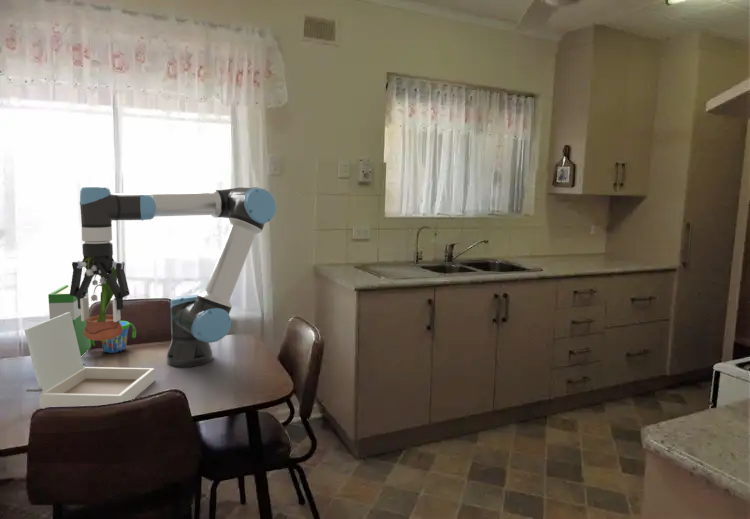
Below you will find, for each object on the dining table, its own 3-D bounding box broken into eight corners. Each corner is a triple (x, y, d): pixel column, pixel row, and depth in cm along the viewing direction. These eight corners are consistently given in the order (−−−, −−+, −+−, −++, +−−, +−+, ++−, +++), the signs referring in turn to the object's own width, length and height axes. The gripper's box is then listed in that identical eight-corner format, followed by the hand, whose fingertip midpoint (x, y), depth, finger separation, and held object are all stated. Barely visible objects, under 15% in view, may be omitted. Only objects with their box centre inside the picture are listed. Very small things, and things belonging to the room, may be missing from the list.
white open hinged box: (154, 380, 162) (152, 312, 160) (121, 410, 141) (117, 332, 138) (73, 378, 162) (69, 311, 159) (27, 408, 141) (21, 330, 138)
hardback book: (69, 348, 193) (65, 284, 189) (91, 347, 194) (87, 284, 191) (52, 363, 176) (48, 294, 172) (76, 362, 178) (72, 293, 174)
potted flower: (102, 345, 142) (97, 255, 139) (70, 342, 144) (65, 254, 141) (130, 334, 154) (127, 251, 151) (100, 331, 156) (97, 249, 153)
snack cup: (131, 343, 200) (130, 317, 199) (141, 349, 193) (140, 323, 191) (87, 351, 189) (85, 324, 188) (96, 358, 182) (94, 330, 181)
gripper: (141, 241, 149) (143, 318, 152) (67, 239, 149) (71, 316, 152) (128, 244, 142) (132, 324, 145) (51, 242, 142) (56, 322, 145)
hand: (101, 320), depth 149 cm, fingers closed on potted flower, 8 cm apart
